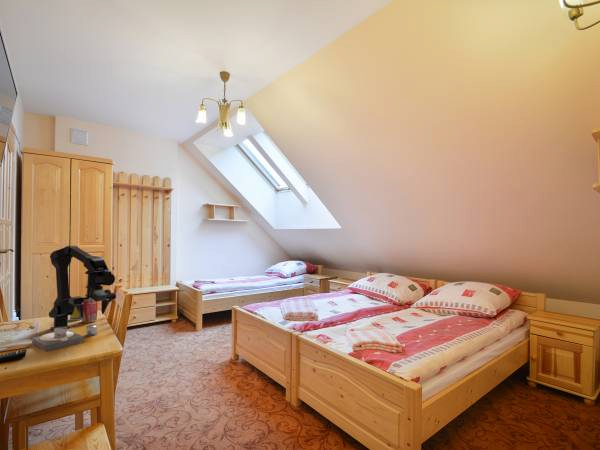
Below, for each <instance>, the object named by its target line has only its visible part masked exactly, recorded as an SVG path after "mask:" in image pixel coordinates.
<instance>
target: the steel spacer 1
mask: <svg viewBox="0 0 600 450" xmlns="http://www.w3.org/2000/svg"><path fill="white" fill-rule="evenodd" d="M67 331H68V328H67V327H66V326H62V327H56V328H54V330H53V332H54V338H55V339H59V338H64V337H66V333H67Z"/></svg>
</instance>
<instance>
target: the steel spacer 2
mask: <svg viewBox="0 0 600 450" xmlns="http://www.w3.org/2000/svg"><path fill="white" fill-rule="evenodd" d="M85 330H86V332H85V333H86V336H87V337H94V336H97V335H98V324H90V325H87V326H86V329H85Z"/></svg>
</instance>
